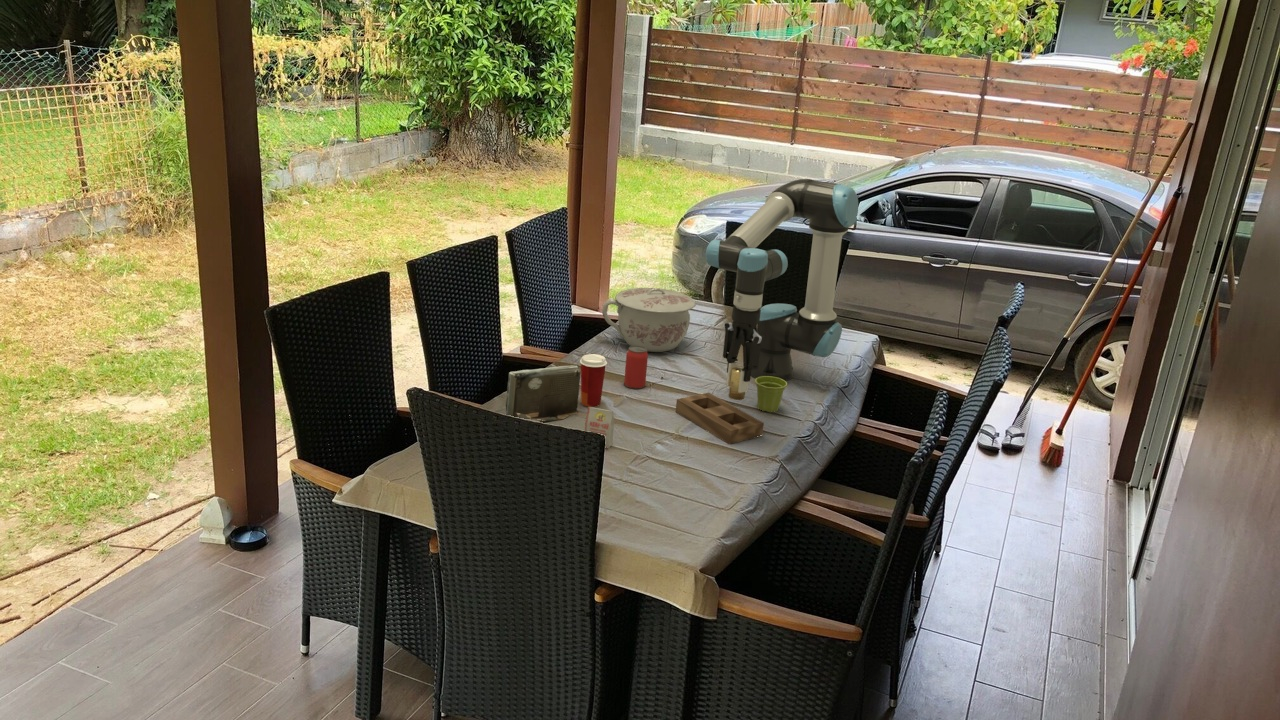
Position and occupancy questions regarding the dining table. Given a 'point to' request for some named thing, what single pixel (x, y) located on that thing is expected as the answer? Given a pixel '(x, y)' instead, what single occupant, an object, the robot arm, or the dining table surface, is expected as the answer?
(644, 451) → the dining table surface
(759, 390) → the plant pot
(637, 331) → the chamber pot
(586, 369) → the paper cup
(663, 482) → the dining table surface
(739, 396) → the brass bushing
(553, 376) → the radio
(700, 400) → the frame
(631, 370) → the beer can
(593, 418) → the tea bag
